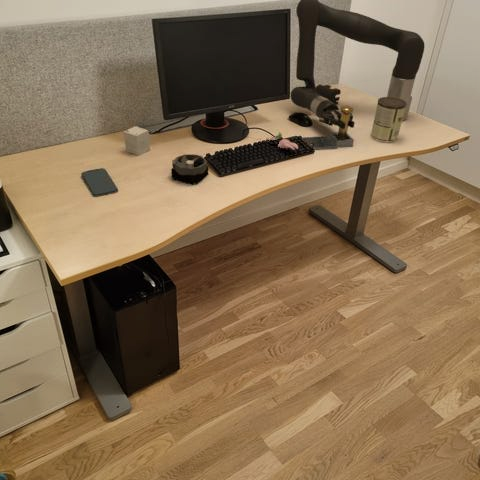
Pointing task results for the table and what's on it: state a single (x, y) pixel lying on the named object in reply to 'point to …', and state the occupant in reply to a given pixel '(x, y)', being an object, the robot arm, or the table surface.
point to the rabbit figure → (284, 142)
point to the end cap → (328, 93)
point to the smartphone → (99, 182)
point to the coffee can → (388, 119)
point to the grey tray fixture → (328, 142)
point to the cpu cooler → (189, 169)
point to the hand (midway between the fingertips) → (348, 125)
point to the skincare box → (137, 140)
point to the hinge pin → (345, 118)
